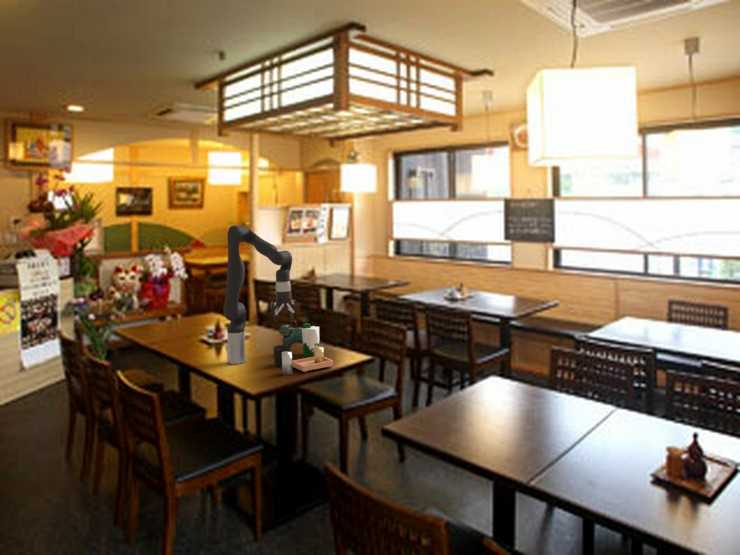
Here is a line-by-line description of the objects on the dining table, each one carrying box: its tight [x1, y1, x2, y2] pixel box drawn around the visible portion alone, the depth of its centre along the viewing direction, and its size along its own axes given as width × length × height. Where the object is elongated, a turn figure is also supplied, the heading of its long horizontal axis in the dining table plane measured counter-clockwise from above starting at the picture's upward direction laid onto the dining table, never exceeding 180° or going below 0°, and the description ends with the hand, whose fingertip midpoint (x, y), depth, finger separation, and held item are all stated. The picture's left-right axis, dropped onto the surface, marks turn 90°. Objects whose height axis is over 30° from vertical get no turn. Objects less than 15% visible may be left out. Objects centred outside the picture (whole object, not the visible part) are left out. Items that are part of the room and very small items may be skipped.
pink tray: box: [292, 356, 335, 374], centre depth 284 cm, size 18×13×4 cm
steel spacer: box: [281, 350, 293, 376], centre depth 275 cm, size 5×5×11 cm
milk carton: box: [301, 322, 321, 359], centre depth 301 cm, size 9×9×20 cm
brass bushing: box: [314, 345, 325, 363], centre depth 286 cm, size 5×5×8 cm
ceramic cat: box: [279, 319, 303, 347], centre depth 313 cm, size 20×6×20 cm, turn 76°
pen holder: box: [273, 344, 292, 368], centre depth 291 cm, size 9×9×10 cm
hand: (284, 321), depth 278 cm, fingers open, 8 cm apart
